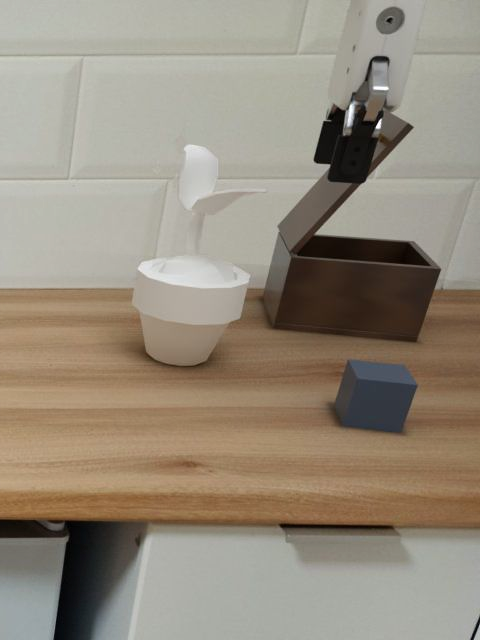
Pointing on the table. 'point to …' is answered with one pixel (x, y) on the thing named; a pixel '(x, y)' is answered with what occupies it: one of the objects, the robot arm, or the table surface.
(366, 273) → the chest
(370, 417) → the block
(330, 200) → the lid
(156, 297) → the potted plant
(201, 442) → the table surface
